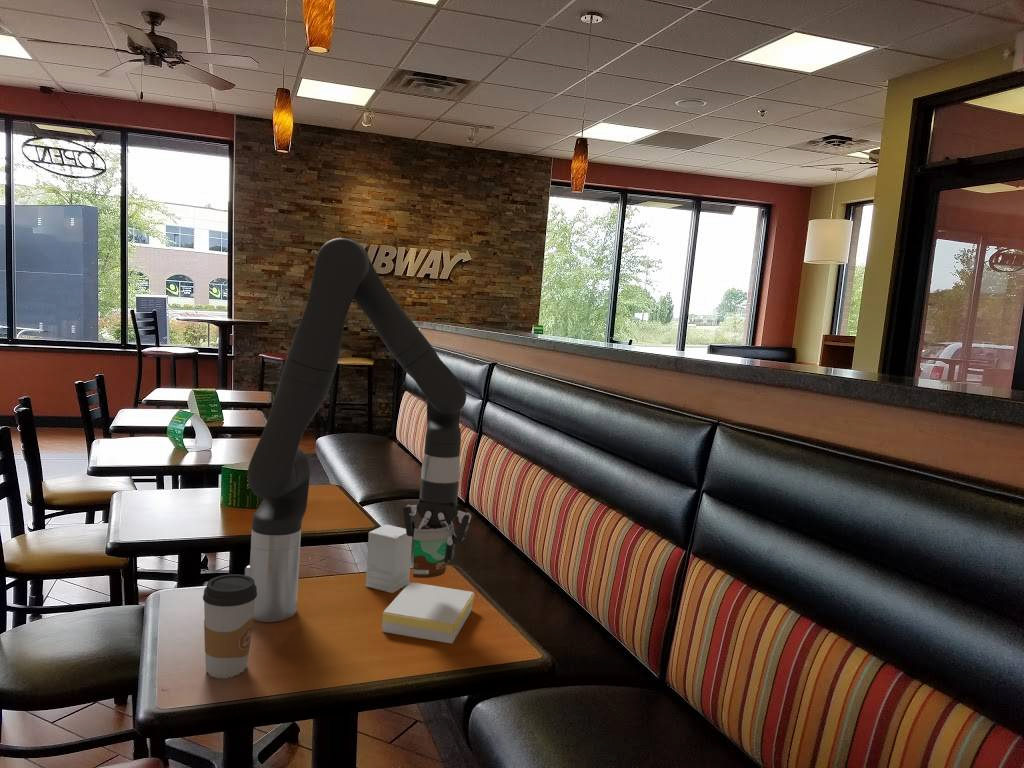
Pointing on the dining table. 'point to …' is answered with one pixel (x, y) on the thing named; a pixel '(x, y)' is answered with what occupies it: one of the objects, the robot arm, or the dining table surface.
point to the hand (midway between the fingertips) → (433, 559)
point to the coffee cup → (228, 623)
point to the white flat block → (428, 612)
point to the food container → (430, 551)
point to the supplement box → (388, 558)
